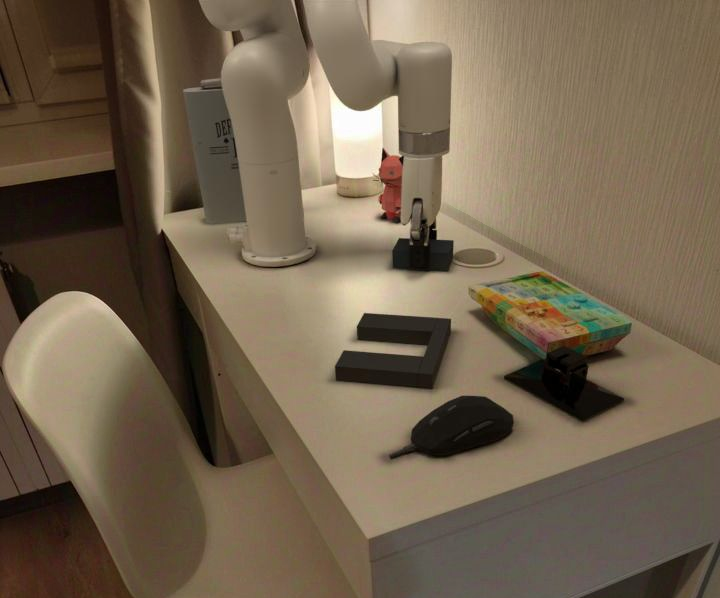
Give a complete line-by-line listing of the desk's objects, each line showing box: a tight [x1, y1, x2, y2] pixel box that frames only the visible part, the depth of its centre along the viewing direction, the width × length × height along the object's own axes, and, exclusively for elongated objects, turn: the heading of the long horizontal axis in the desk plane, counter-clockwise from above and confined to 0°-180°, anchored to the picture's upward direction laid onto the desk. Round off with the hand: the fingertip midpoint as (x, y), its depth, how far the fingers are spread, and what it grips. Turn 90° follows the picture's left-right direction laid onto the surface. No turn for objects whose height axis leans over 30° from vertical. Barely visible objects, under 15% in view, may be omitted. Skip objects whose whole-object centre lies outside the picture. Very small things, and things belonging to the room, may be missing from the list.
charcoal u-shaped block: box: [334, 312, 452, 389], centre depth 93 cm, size 15×12×2 cm
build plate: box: [503, 346, 625, 423], centre depth 84 cm, size 12×7×5 cm, turn 35°
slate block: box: [391, 237, 455, 272], centre depth 116 cm, size 6×9×3 cm, turn 76°
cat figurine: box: [372, 147, 404, 224], centre depth 131 cm, size 7×7×12 cm
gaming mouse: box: [388, 395, 515, 459], centre depth 77 cm, size 6×15×4 cm, turn 116°
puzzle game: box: [468, 270, 633, 360], centre depth 95 cm, size 12×5×20 cm
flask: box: [182, 71, 247, 225], centre depth 132 cm, size 17×5×25 cm, turn 103°
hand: (423, 260), depth 117 cm, fingers closed on slate block, 5 cm apart
